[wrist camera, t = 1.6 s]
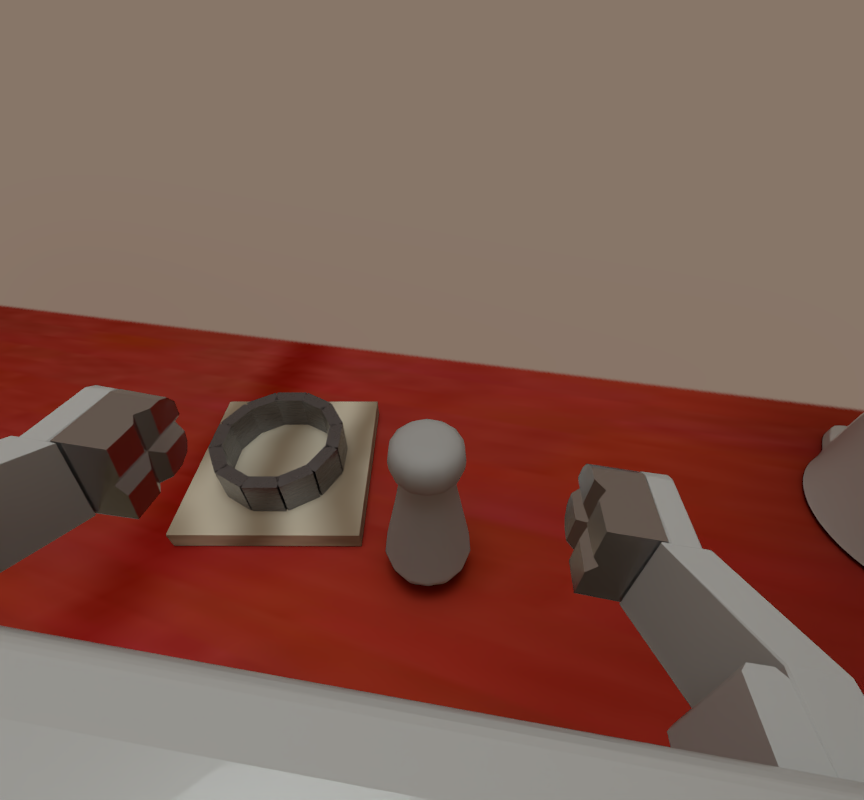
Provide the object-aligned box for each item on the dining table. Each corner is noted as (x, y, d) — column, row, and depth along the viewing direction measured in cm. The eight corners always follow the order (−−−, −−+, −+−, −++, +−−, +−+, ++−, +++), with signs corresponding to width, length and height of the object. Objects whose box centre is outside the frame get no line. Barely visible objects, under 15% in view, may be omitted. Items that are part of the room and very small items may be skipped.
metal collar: (353, 416, 41) (349, 392, 39) (335, 511, 34) (329, 487, 32) (245, 416, 41) (234, 392, 39) (203, 511, 34) (188, 487, 32)
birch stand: (378, 412, 43) (377, 401, 42) (361, 546, 33) (359, 535, 32) (235, 412, 43) (230, 401, 42) (174, 545, 33) (165, 535, 32)
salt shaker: (420, 617, 29) (414, 506, 20) (372, 554, 33) (349, 435, 24) (485, 564, 32) (504, 445, 23) (434, 510, 35) (434, 388, 26)
